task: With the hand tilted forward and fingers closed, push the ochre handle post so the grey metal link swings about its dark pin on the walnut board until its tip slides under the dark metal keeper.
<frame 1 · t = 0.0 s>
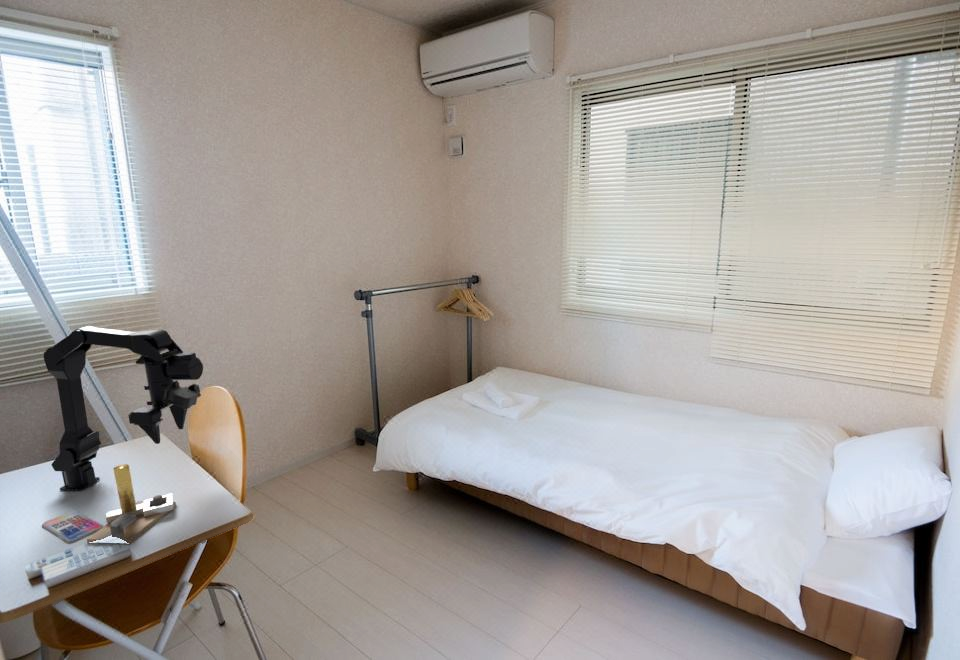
hand: (169, 436, 137), 15 cm above the table, tool pointing down, fingers open, 9 cm apart
link: (136, 488, 125), point 7 cm above the table, hinge at 0.0°
smartphone: (73, 528, 123), on the table
keeper board: (134, 523, 124), on the table
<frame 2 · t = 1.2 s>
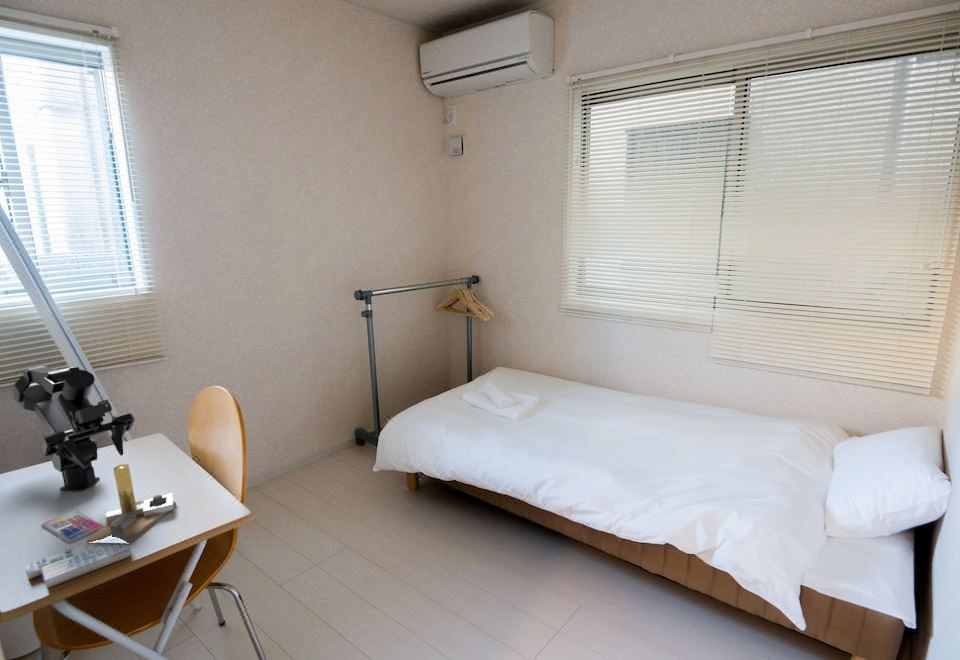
hand: (104, 460, 129), 12 cm above the table, tool tilted 45°, fingers open, 8 cm apart
nothing on the table moved.
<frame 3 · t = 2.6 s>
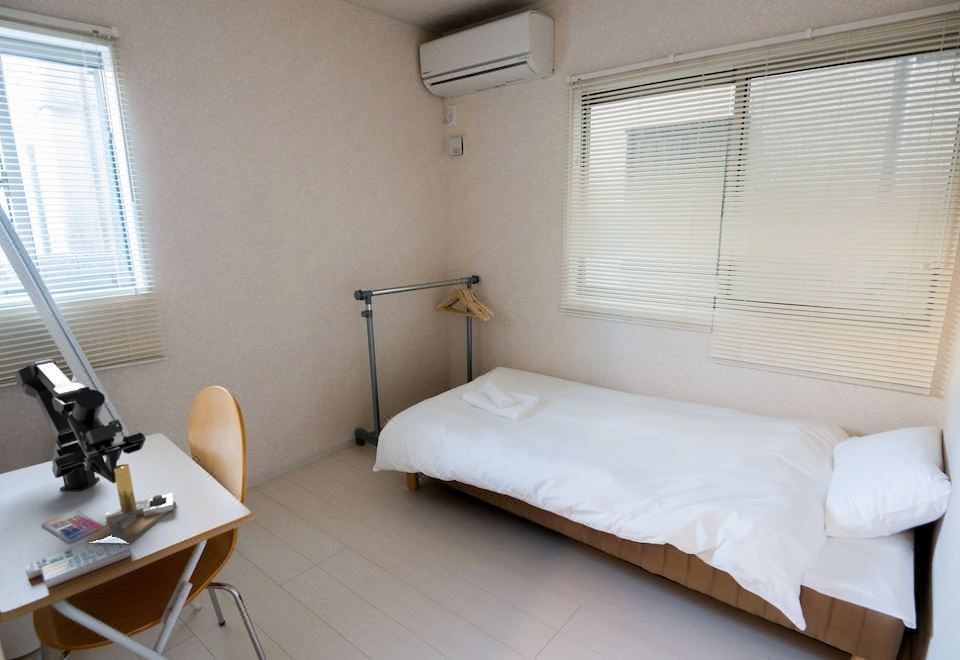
hand: (115, 482, 127), 8 cm above the table, tool tilted 45°, fingers closed
nothing on the table moved.
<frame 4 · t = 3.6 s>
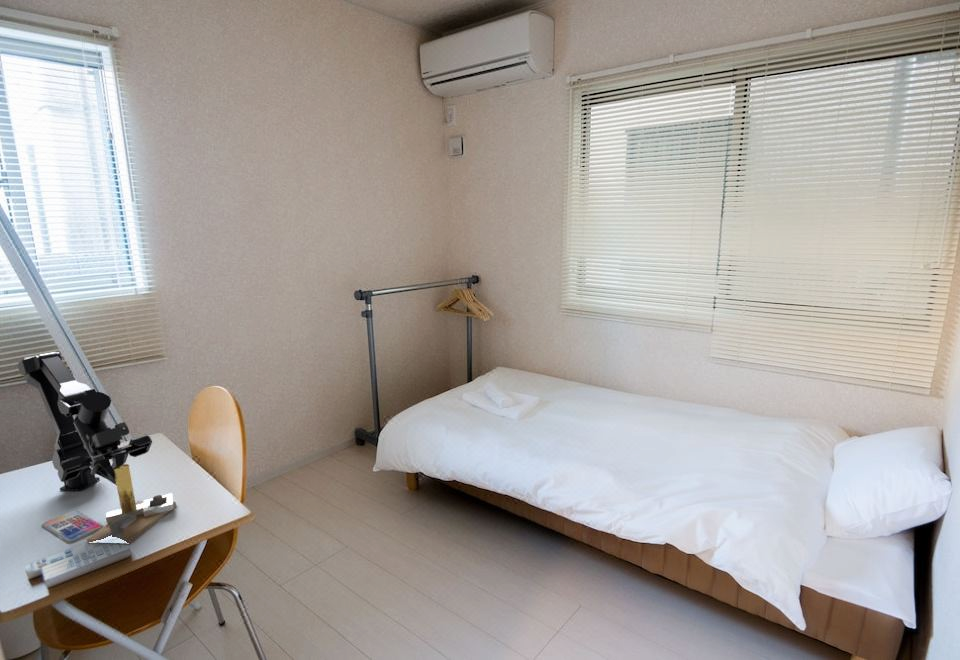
hand: (121, 485, 125), 8 cm above the table, tool tilted 45°, fingers closed, pressing on link
link: (136, 488, 125), point 7 cm above the table, hinge at 0.2°, touching gripper
everything else where it was.
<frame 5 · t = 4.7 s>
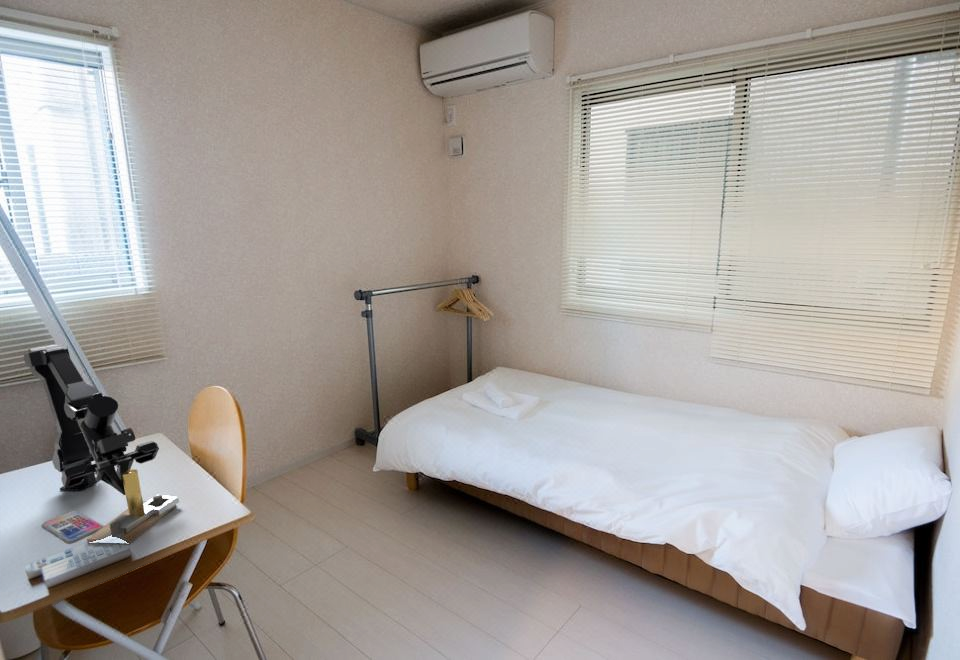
hand: (125, 494, 121), 8 cm above the table, tool tilted 45°, fingers closed, pressing on link
link: (142, 492, 123), point 7 cm above the table, hinge at 47.0°, touching gripper
everything else where it was.
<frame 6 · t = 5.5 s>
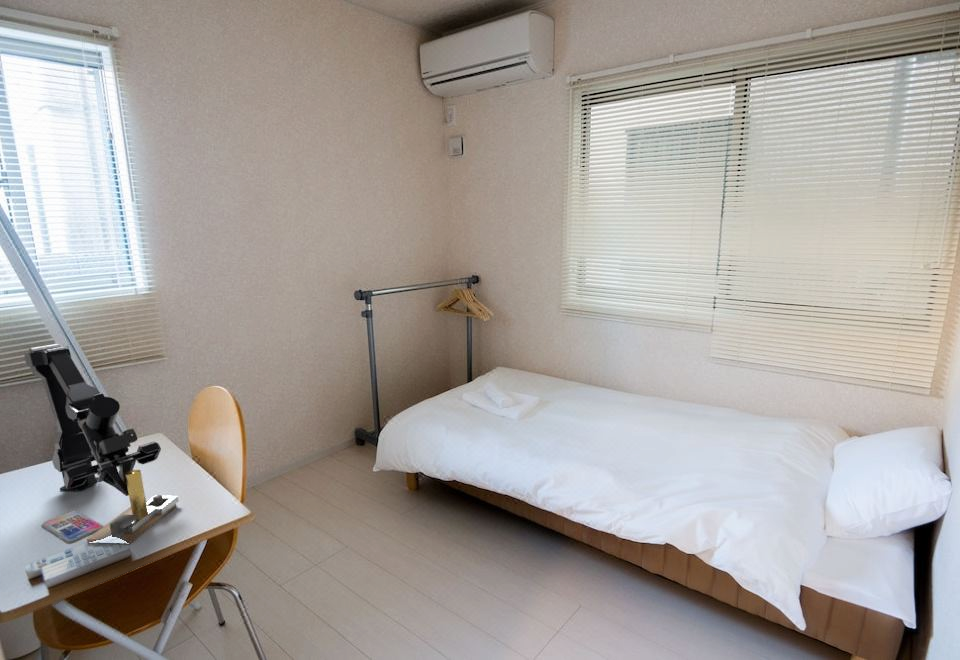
hand: (128, 494, 121), 8 cm above the table, tool tilted 45°, fingers closed
link: (144, 492, 123), point 7 cm above the table, hinge at 55.0°, touching gripper
everything else where it was.
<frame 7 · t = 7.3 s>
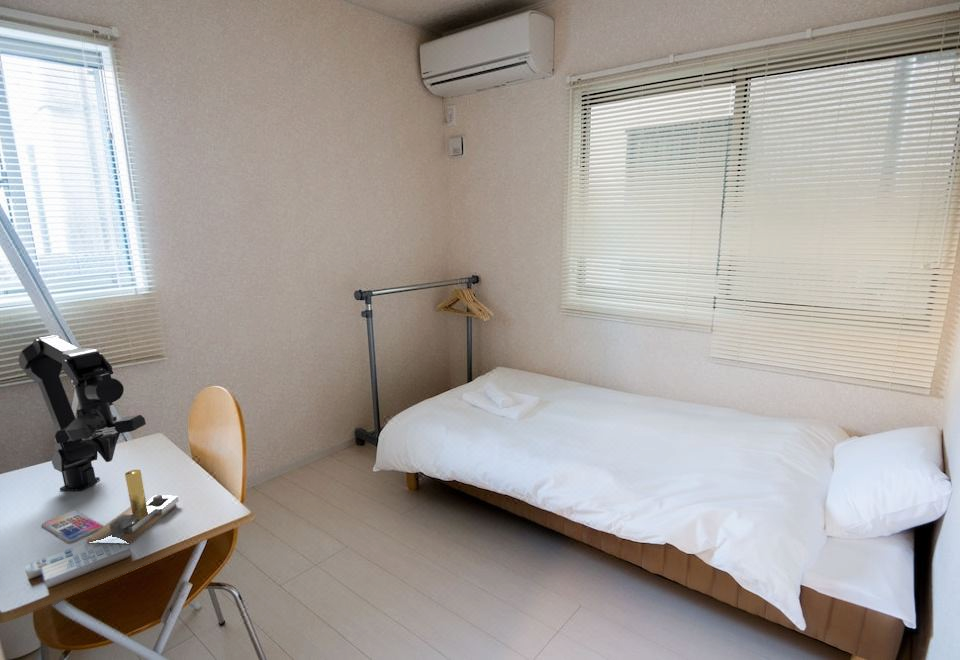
hand: (109, 461, 130), 12 cm above the table, tool pointing down, fingers closed
link: (144, 492, 123), point 7 cm above the table, hinge at 55.0°
everything else where it was.
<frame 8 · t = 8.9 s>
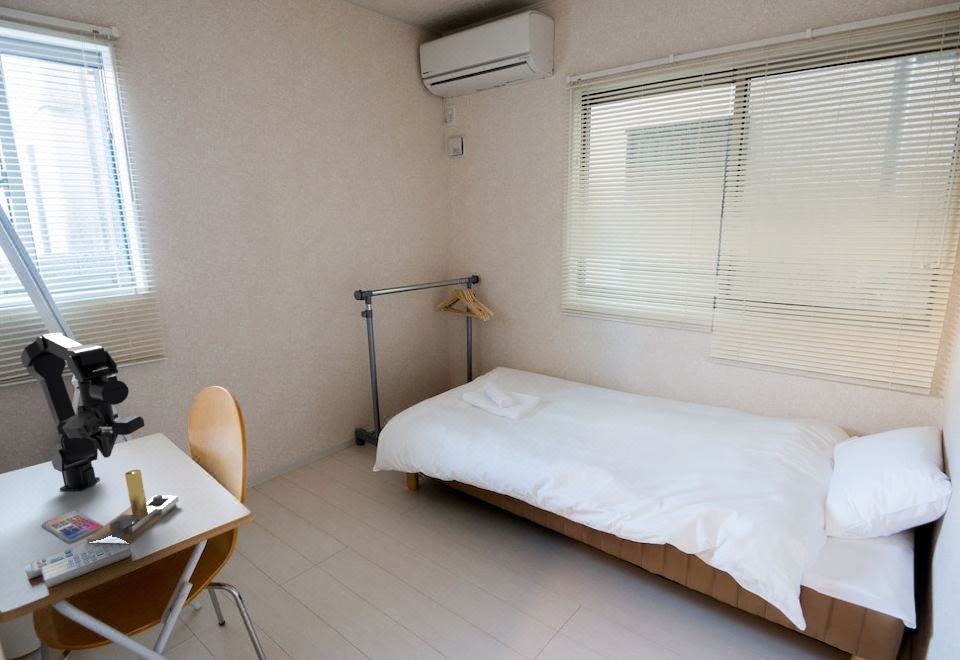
hand: (107, 456, 131), 12 cm above the table, tool pointing down, fingers closed
nothing on the table moved.
at the end: link at +55° (first picture: +0°); the gripper is holding nothing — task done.
